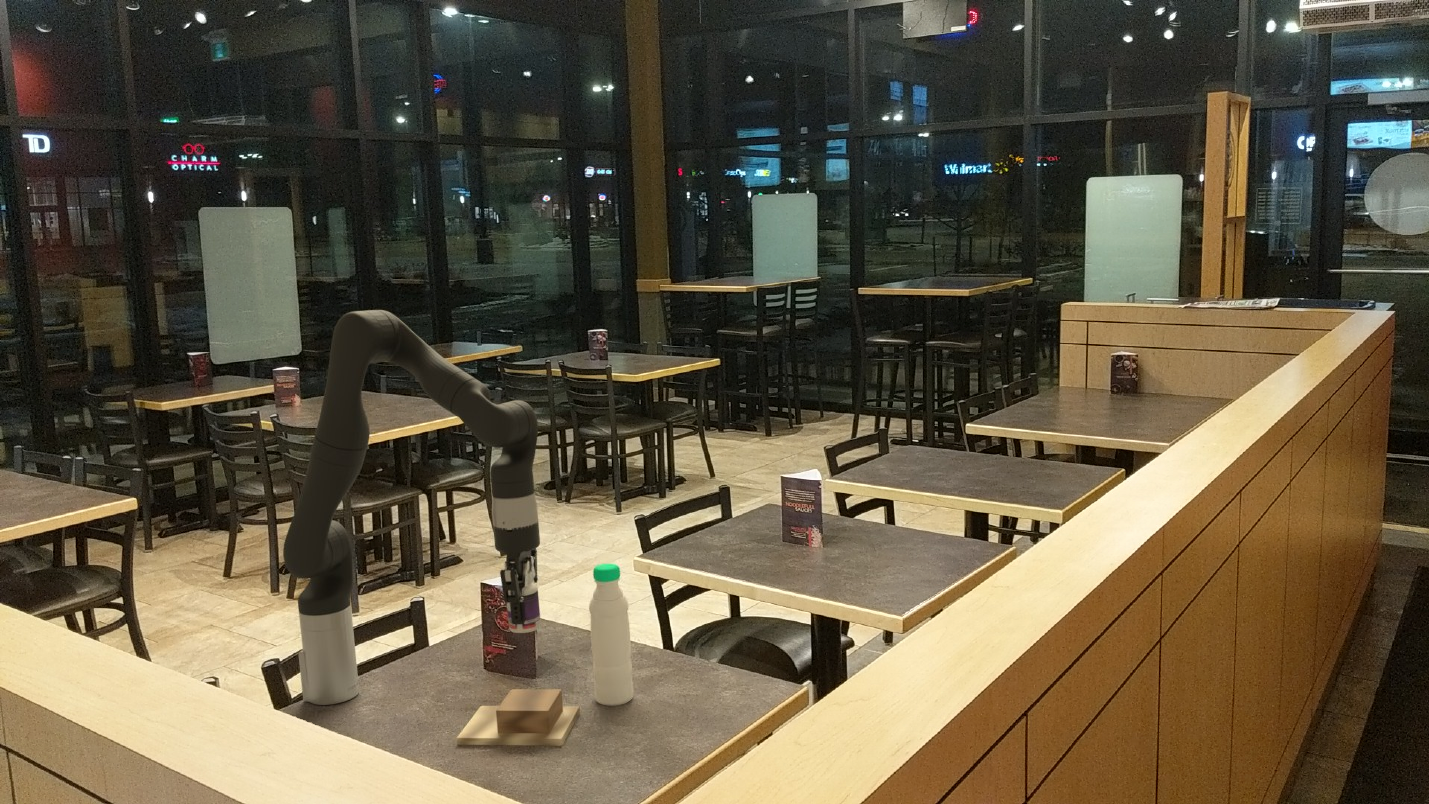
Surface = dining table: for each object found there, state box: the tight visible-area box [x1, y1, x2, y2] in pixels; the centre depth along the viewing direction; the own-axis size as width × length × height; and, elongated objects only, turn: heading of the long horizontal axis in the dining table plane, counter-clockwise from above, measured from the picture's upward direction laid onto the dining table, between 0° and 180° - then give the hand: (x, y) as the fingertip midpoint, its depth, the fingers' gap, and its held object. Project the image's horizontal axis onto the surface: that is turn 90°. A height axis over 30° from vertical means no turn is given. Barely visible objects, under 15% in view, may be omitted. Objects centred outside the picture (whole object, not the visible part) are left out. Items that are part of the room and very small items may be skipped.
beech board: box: [456, 705, 581, 747], centre depth 199 cm, size 18×13×1 cm
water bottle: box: [588, 563, 635, 707], centre depth 207 cm, size 7×7×25 cm
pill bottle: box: [506, 571, 542, 634], centre depth 195 cm, size 5×5×10 cm
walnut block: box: [496, 688, 563, 733], centre depth 198 cm, size 9×9×4 cm
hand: (523, 617), depth 196 cm, fingers closed on pill bottle, 5 cm apart
